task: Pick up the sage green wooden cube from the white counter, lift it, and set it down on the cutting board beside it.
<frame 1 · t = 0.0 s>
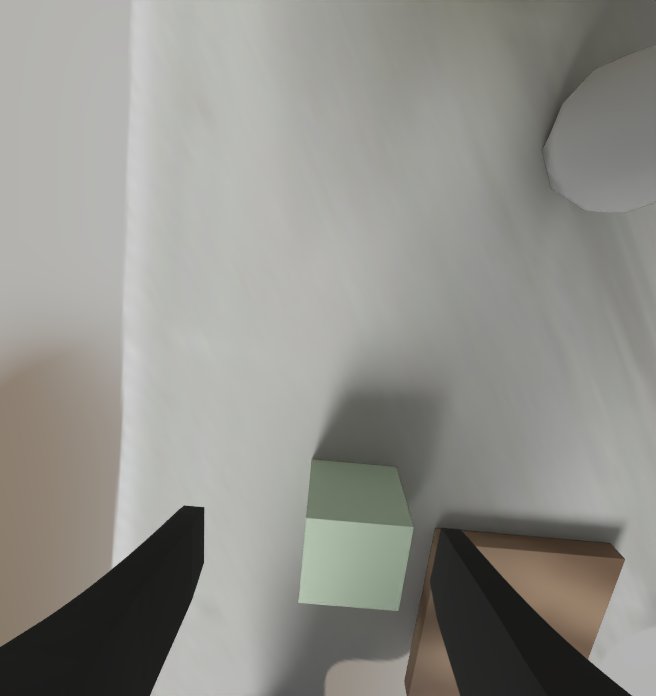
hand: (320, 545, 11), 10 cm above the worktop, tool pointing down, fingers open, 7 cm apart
cutting board: (500, 616, 25), on the worktop
salt shaker: (583, 153, 18), on the worktop
green cube: (349, 498, 23), on the worktop
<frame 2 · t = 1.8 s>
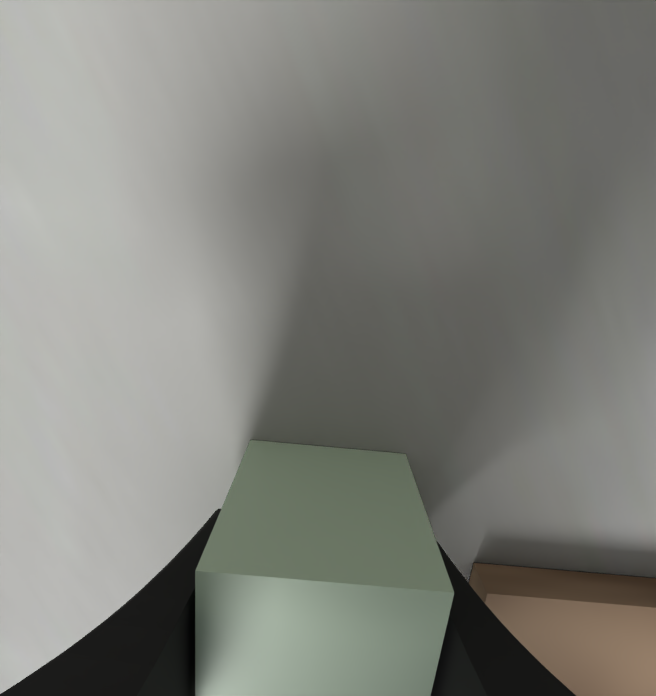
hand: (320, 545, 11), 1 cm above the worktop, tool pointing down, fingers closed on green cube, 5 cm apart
green cube: (321, 512, 13), on the worktop, touching gripper
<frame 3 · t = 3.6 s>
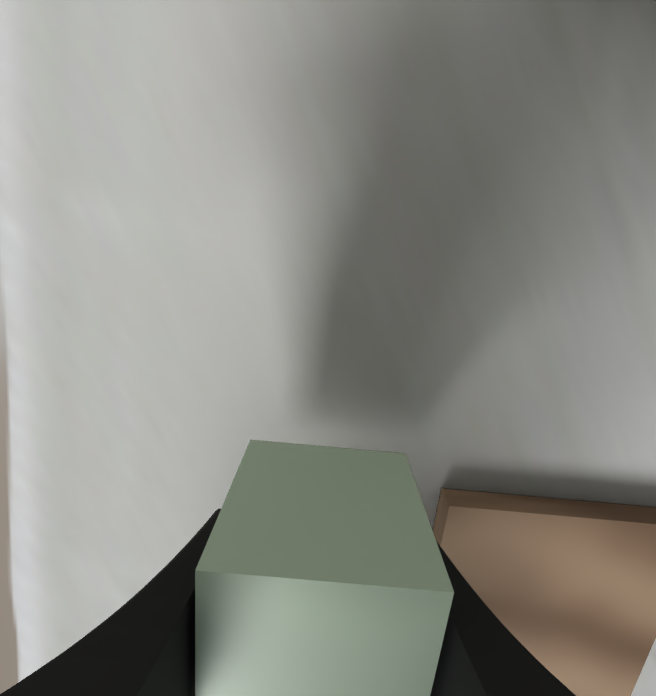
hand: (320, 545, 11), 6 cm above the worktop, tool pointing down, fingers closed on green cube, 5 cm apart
cutting board: (526, 608, 19), on the worktop
green cube: (321, 512, 13), point 4 cm above the worktop, touching gripper
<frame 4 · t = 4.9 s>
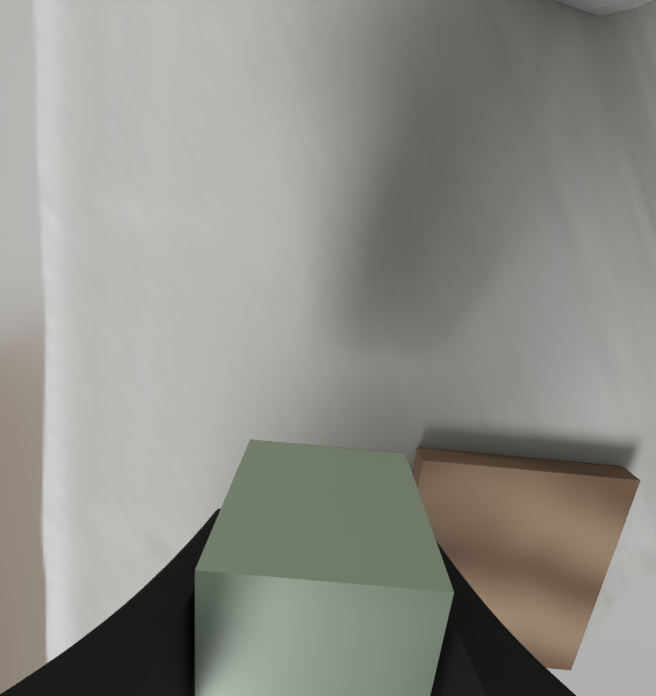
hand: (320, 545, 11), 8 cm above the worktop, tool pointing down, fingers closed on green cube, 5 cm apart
cutting board: (494, 556, 21), on the worktop
green cube: (321, 512, 13), point 7 cm above the worktop, touching gripper
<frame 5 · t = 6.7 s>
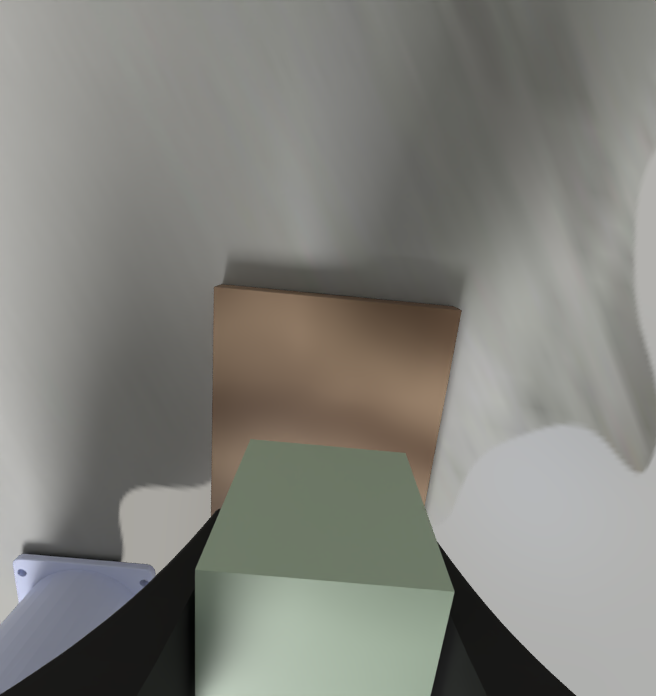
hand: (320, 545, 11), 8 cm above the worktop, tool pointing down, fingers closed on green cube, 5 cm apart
cutting board: (325, 420, 19), on the worktop
green cube: (321, 511, 13), point 7 cm above the worktop, touching gripper
when the fingers open (4 cm above the worktop, at t = 8.2 s): green cube drops 1 cm, resting on cutting board.
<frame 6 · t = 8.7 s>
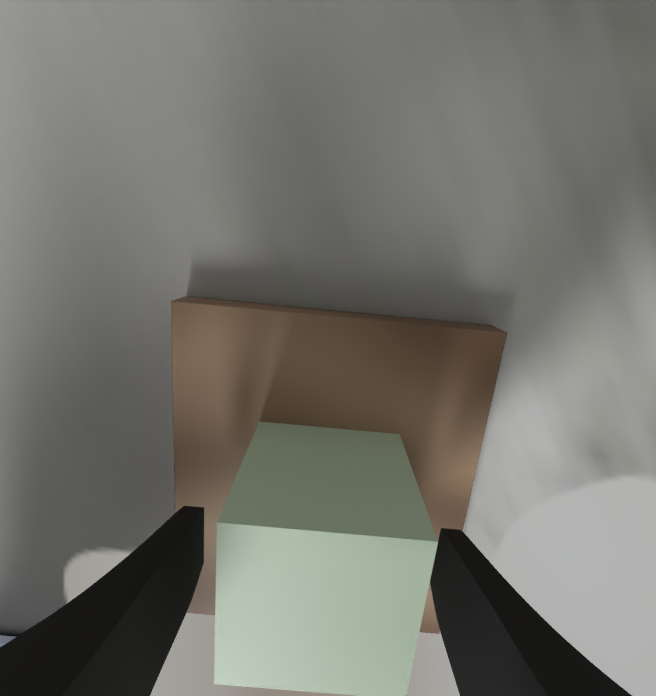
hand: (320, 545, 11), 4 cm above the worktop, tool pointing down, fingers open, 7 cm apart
cutting board: (323, 470, 15), on the worktop
green cube: (323, 488, 14), point 1 cm above the worktop, touching cutting board
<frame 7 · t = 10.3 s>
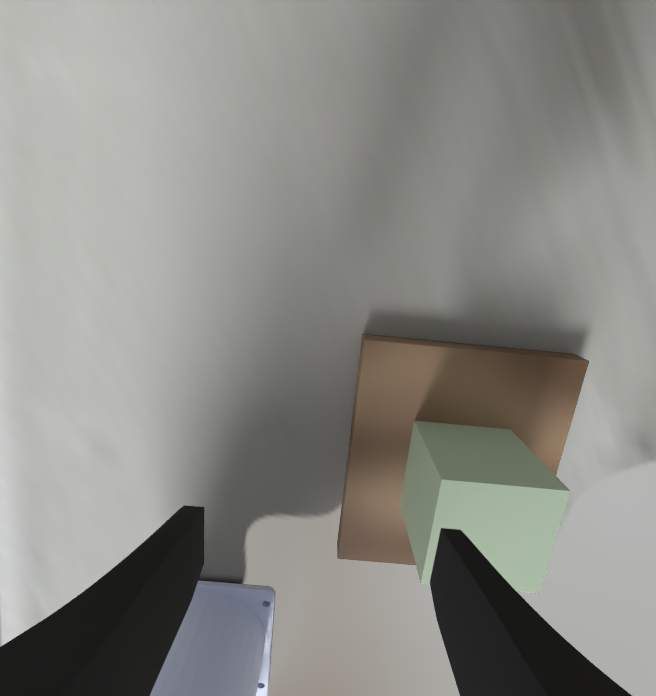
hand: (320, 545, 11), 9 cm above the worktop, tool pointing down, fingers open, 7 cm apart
cutting board: (446, 455, 21), on the worktop
green cube: (453, 467, 20), point 1 cm above the worktop, touching cutting board
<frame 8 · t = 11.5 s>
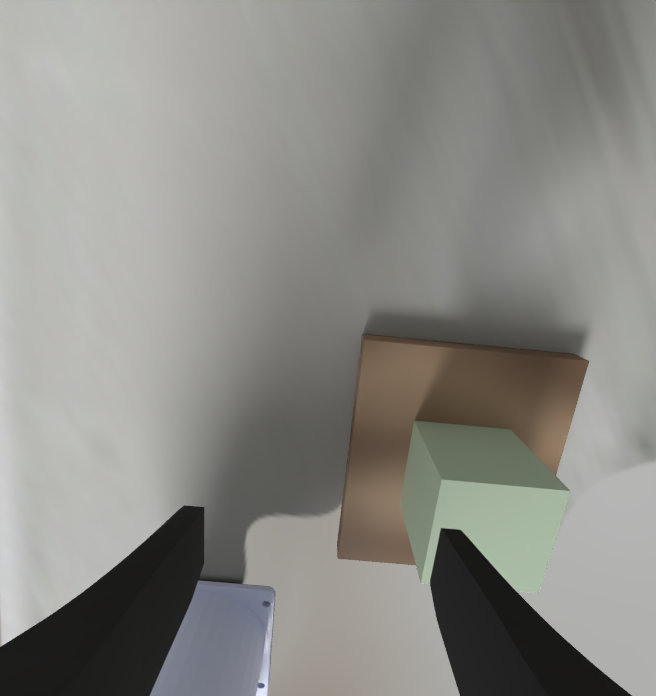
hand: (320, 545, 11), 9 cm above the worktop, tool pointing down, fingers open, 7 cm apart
cutting board: (446, 455, 21), on the worktop
green cube: (453, 467, 20), point 1 cm above the worktop, touching cutting board
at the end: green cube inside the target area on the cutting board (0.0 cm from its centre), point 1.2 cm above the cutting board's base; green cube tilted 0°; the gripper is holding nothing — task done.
